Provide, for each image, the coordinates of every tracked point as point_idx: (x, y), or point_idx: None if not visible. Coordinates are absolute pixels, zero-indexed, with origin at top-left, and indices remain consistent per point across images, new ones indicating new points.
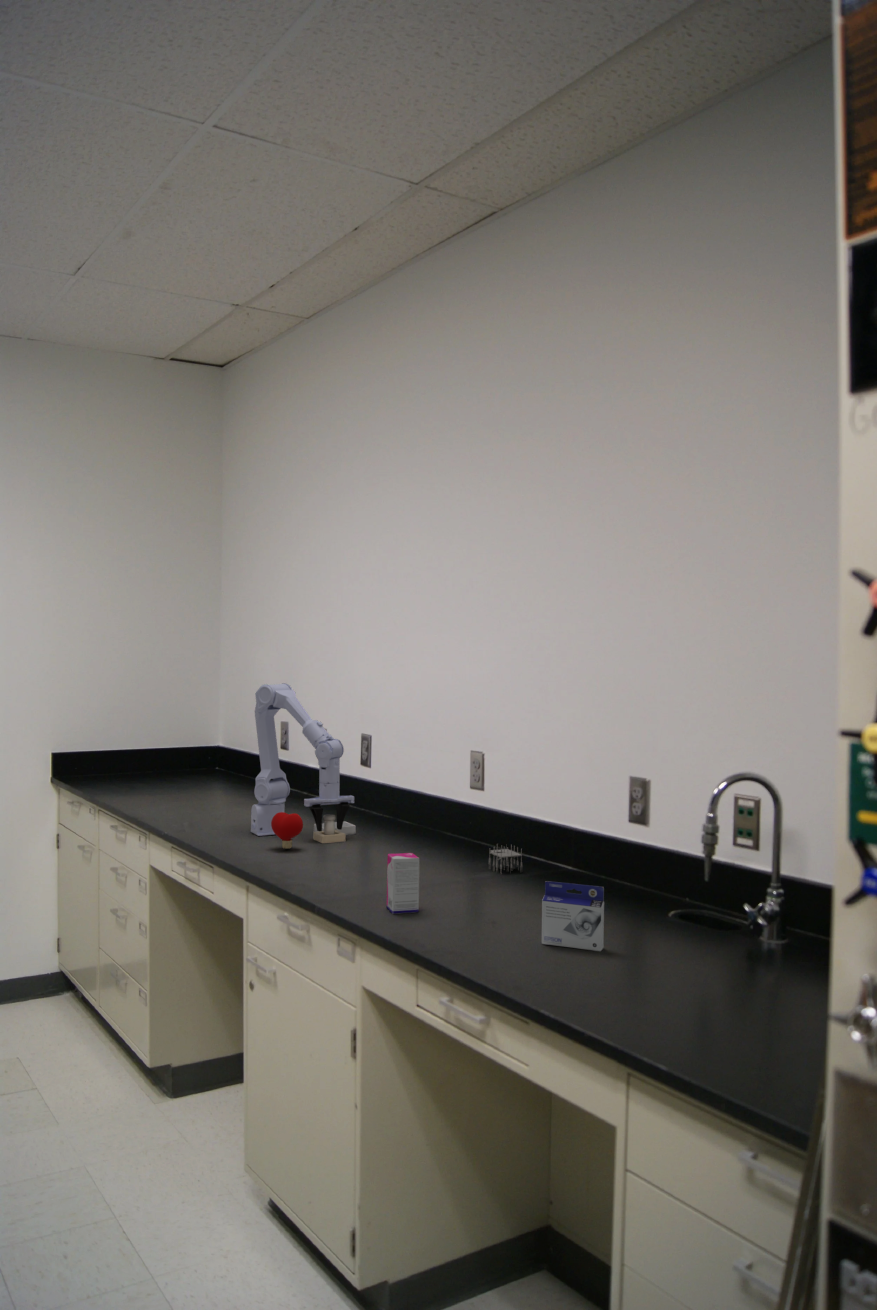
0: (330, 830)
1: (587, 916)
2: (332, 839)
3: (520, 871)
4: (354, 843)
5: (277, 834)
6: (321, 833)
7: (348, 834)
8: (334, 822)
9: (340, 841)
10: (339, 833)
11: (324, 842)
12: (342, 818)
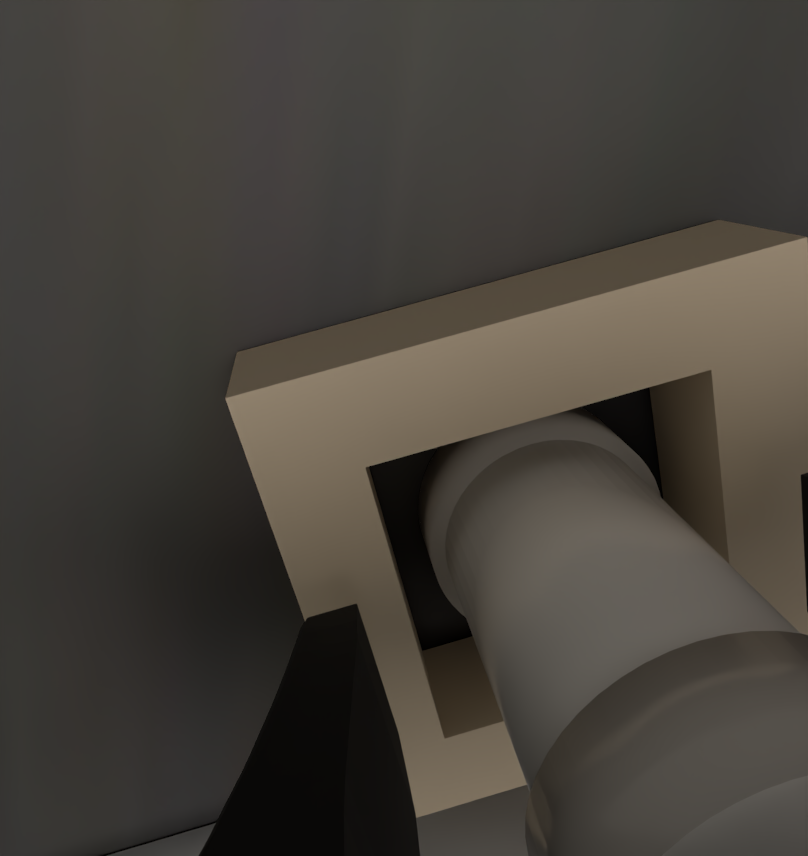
0: (598, 501)
1: None
2: (528, 285)
3: None
4: (40, 73)
5: None
6: None
7: (146, 848)
8: (539, 705)
9: (343, 325)
10: (360, 497)
11: (681, 231)
12: (283, 812)
